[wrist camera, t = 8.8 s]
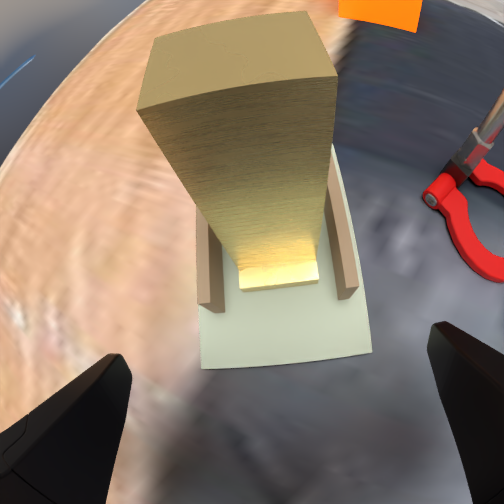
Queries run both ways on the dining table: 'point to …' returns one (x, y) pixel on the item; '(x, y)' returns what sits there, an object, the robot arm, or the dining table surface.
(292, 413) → the dining table surface
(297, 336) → the pale green slotted base
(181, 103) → the gold square pillar
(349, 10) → the orange juice
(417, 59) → the dining table surface
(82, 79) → the dining table surface
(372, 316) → the dining table surface
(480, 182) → the tow hook
